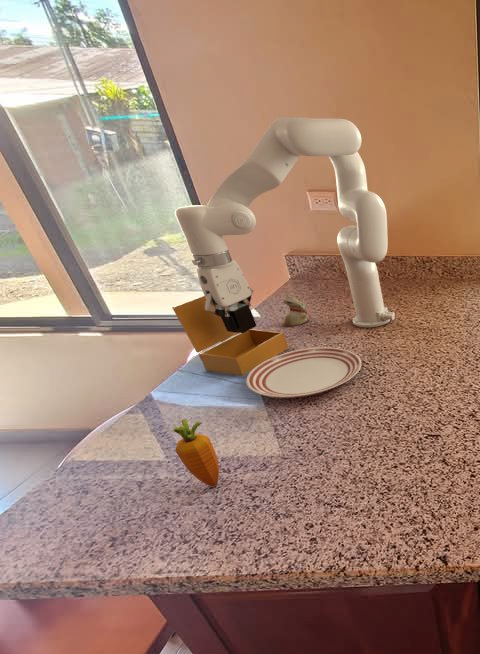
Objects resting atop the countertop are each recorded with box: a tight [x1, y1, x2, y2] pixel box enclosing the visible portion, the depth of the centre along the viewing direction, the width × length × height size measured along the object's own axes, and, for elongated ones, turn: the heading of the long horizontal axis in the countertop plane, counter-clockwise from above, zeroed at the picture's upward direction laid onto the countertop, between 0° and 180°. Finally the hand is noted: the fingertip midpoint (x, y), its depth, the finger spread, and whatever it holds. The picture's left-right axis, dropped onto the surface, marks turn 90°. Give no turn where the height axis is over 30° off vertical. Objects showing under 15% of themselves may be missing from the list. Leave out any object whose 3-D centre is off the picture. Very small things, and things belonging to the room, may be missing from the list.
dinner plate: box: [245, 346, 362, 399], centre depth 113 cm, size 28×27×3 cm
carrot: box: [172, 418, 220, 488], centre depth 76 cm, size 5×5×15 cm
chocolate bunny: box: [282, 294, 308, 327], centre depth 143 cm, size 6×8×10 cm
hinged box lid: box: [172, 294, 237, 353], centre depth 117 cm, size 13×17×6 cm
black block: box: [222, 303, 257, 333], centre depth 115 cm, size 5×5×6 cm
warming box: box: [198, 328, 289, 377], centre depth 120 cm, size 12×17×6 cm
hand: (240, 324), depth 116 cm, fingers closed on black block, 5 cm apart
